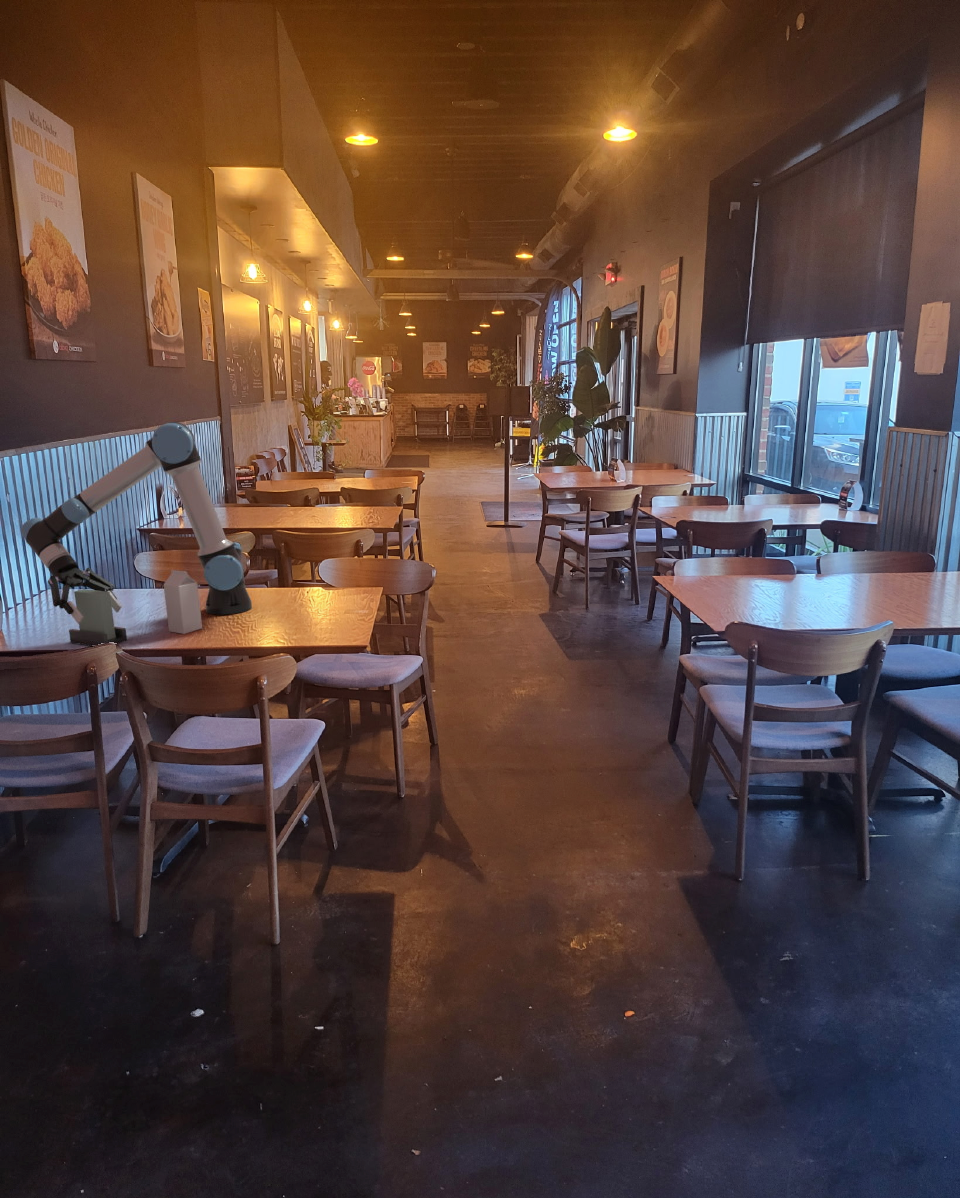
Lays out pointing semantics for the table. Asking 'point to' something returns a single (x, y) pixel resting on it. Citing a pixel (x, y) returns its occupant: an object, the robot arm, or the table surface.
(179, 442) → the robot arm
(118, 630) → the bottom track
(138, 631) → the table surface
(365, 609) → the table surface
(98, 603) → the door panel
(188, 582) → the milk carton
